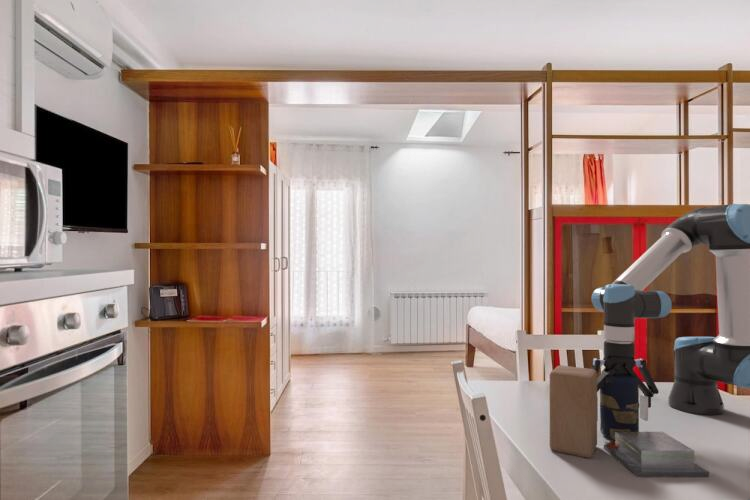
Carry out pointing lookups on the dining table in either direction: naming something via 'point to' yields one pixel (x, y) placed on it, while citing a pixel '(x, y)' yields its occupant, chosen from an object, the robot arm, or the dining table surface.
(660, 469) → the stand
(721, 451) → the dining table surface
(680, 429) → the dining table surface
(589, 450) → the block
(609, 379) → the canister
